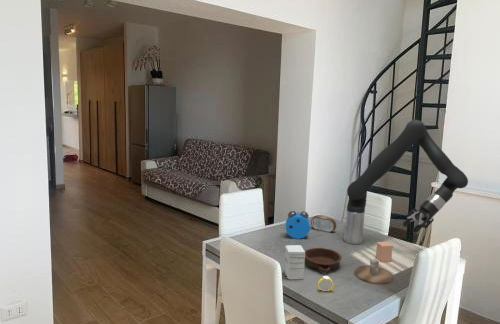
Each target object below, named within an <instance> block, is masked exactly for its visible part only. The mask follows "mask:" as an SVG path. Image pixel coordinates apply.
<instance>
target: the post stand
mask: <svg viewBox="0 0 500 324" xmlns="http://www.w3.org/2000/svg"><path fill="white" fill-rule="evenodd" d="M369 263H370V264H369V265H368V264H367V265H359V266H357V267H355V269H354V275H355V277H356V278H357V279H359V280H361V281H363V282H366V283H368V284H373V285H387V284H391V283H392V282H393V280H394V275H393V273H392V272H391V271H389V270H388V269H386V268H383V267H380V261H379V260H378V259H377V258H372V259H371V258H370V261H369Z"/></svg>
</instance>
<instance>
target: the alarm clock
mask: <svg viewBox="0 0 500 324" xmlns="http://www.w3.org/2000/svg"><path fill="white" fill-rule="evenodd" d="M309 217H310V216H309V213H308V212H307V211H304V210H303V211H301V212H299V211H297V212H296V211H294V210H290V211H289V212H288V213H287V218H286V220H285V230H286V233H287V234H288V236H289V237H291V238H292V239H296V240H299V239H303V238H305V237H307V235H308V234H309V233H310V230H311V223H310V221H309V219H308V218H309Z"/></svg>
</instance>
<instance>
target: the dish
mask: <svg viewBox="0 0 500 324" xmlns="http://www.w3.org/2000/svg"><path fill="white" fill-rule="evenodd" d="M304 251H305V262H306V265H307V266H309V267H311V268H313V269H315V270H318V271H319V272H321V273H323V274H327V273H328V272H329V271H332V270H335V269H337V268H338V267H339V265H340V262H341V261H342V259H343V257H342V255H341V254H340V253H339V252H337V251H336V250H333V249H331V248H330V249H329V248H324V247H323V248H322V247H313V248H309V249H306V250H304Z"/></svg>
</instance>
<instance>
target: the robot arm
mask: <svg viewBox="0 0 500 324" xmlns="http://www.w3.org/2000/svg"><path fill="white" fill-rule="evenodd" d="M416 143H417V144H418V145H419V146H420V147H421V149H422V150H423V151H424V153H425V154H426V156H427V157H428V159H429V160H430V162H431V163H432V164H433V165H434V167H435V168H436V169H437V170H438V172H439V173H440V174H442V175H444V176H446V178H445V179H444V181H442V183H441V185H440V186H439V187H438V188H437V189H436V190H435V191H434V192H433V193H432V194H431V195H429V197H427V198H426V199H425V200H424V201H423V202H422V203H421V204H420V205H419V209H416V207H414V208H413V209H412V210H411V211H410V212H409V213H407V214H406V215H405V217H406V219H405V221H404V222H402V226H403V227H404V228H406V227H407V226H408V225H410V224H411V222H414V221H415V222H416V221H418V224H416V225H415V226H414V227H413V228H412V232H413V233H415V234H416V233H418V232H419V231H420V230H421V229H423V228H424V229H427V228H428V227H429V226H430V225H431V224H432V223H433V222H434V221H435V220H434V218H433V217H434V216H436V214H437V213H439V211H440V210H441V209H443V207H444V206H445V205H446V203H448V202H449V201H450V200H451V199H452V197H454V194H453V193H454V192H455V191H457V189H464V188H466V187H467V186H468V184H469V179H468V177H467V175H466V174H465V173H464V172H463V171H462V170H461V169H460V168H458V166H456V165H455V164H454V163H453V162H452V160H451V159H450V158H449V157H448V156H447V155H446V153H445V152H444V151H443V150H442V149H441V148H440V146H439V145H438V144H437V143H436V142H435V141H434V140H433V137H431V135H430V134H429V132H428V130H427V128H426V125H425V124H424V122H423V121H421V120H419V119H412V120H410V121H409V122H407V124H406V125H405V127H404V129H403V130H402V131H401V133H400V134H399V135H398V136H397V138H396V139H395V140H394V141H393V142H391V143H390V144H389V145H387V146H386V147H385V148H384V149H382V150H381V151H380V152H379V153H378V154H377V156H376V157H375V158H373V160H372V161H371V163H369V165H368V166H367V168H366V169H365V170H364V172H363V173H362V174H361V175H360V176H359V177H358V178H357V179H356V180H354V181H352V182H351V183H350V184H349V185H348V187H347V189H346V190H347V191H346V193H347V197H348V202H347V205H346V217H345V218H346V219H345V223H344V230H343V231H344V232H343V242H346V243H348V244H351V245H361V244H362V243H363V237H364V224H365V213H366V212H365V211H366V205H367V197H368V196H367V194H368V191H369V190H370V189H371V187H372V186H373V185H374V184H375V183H376V182H377V181H378V180H380V179H381V178H382V177H383V176H385V175H386V174H387V173H388V172H389V171H390V170H392V168H393V167H394V166H395V165H396V164H397V163H398V162H399V160H401V158H402V157H403V155H405V153H406V152H407V151H408V150H409V149H410V148H411V147H412V146H413V145H414V144H416Z"/></svg>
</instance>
